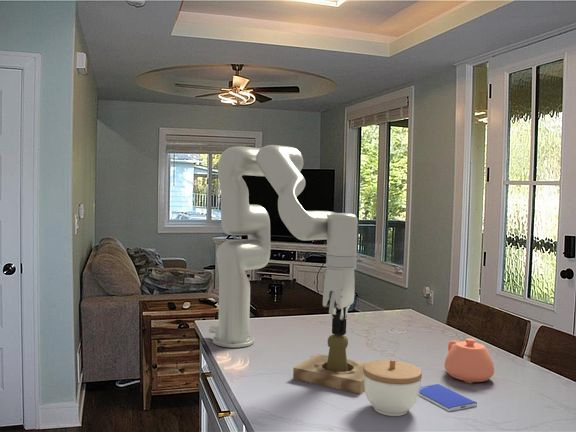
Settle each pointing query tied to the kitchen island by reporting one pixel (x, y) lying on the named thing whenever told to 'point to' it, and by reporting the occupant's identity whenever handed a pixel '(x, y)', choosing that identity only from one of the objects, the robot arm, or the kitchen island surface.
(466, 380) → the sugar bowl
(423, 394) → the hard drive
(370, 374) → the lidded bowl
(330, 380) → the holder board
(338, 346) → the cork
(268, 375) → the kitchen island surface
